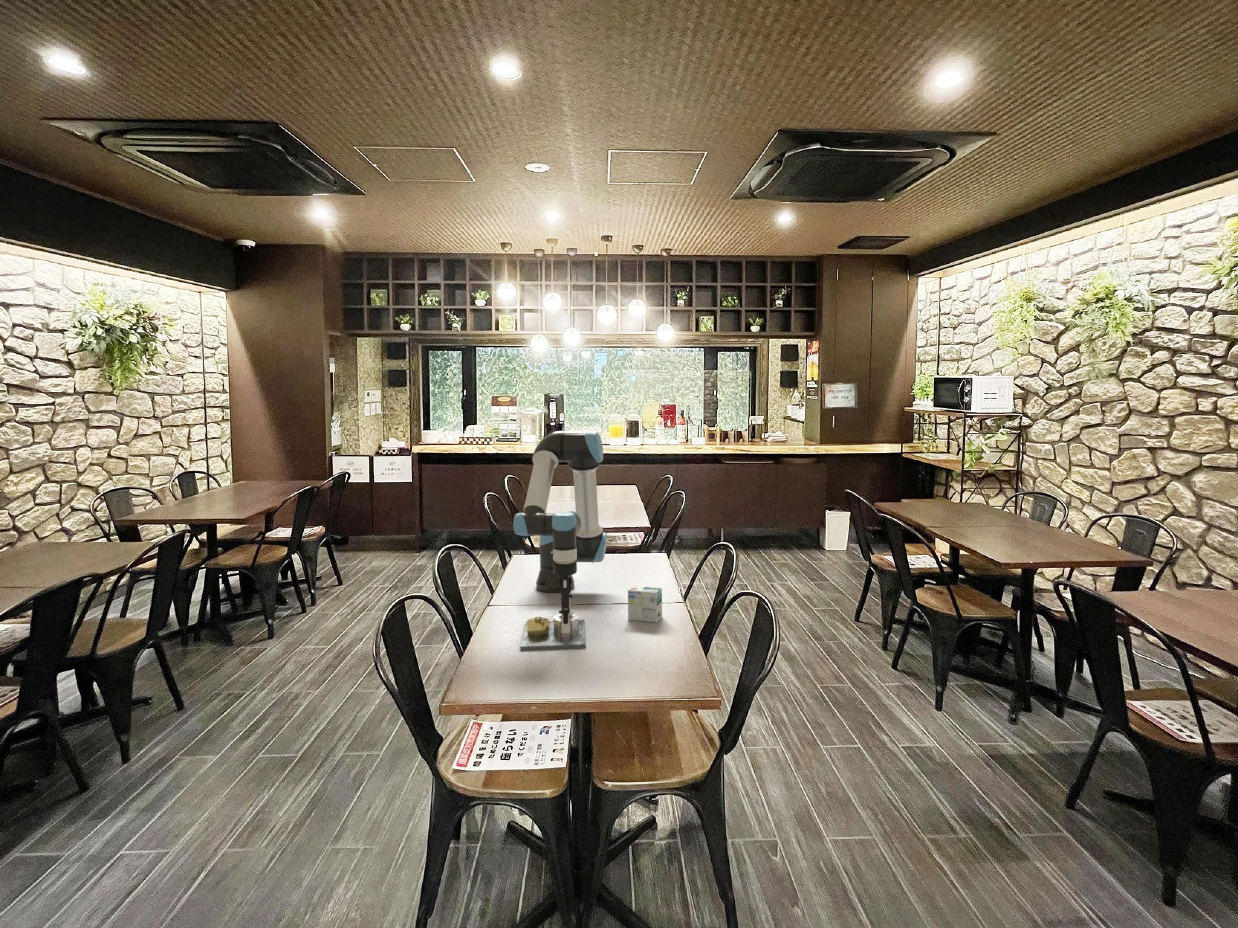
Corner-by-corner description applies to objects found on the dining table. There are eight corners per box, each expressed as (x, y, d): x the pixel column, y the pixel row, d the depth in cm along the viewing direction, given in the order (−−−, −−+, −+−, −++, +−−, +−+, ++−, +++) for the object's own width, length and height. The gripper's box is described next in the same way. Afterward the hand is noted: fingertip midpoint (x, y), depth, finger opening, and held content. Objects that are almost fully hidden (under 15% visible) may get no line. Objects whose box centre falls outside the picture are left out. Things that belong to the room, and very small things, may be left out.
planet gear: (554, 628, 230) (553, 613, 230) (578, 627, 231) (578, 612, 230) (553, 636, 223) (553, 621, 222) (578, 636, 223) (578, 620, 222)
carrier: (525, 625, 237) (524, 607, 236) (584, 623, 238) (584, 605, 237) (520, 650, 215) (519, 630, 214) (585, 647, 216) (585, 628, 216)
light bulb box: (662, 616, 244) (662, 586, 242) (657, 623, 237) (657, 592, 236) (633, 613, 247) (633, 584, 246) (627, 620, 241) (627, 589, 240)
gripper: (554, 551, 236) (555, 612, 239) (551, 571, 211) (553, 639, 214) (576, 551, 236) (577, 611, 239) (576, 571, 212) (578, 638, 214)
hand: (566, 625), depth 226 cm, fingers open, 13 cm apart
